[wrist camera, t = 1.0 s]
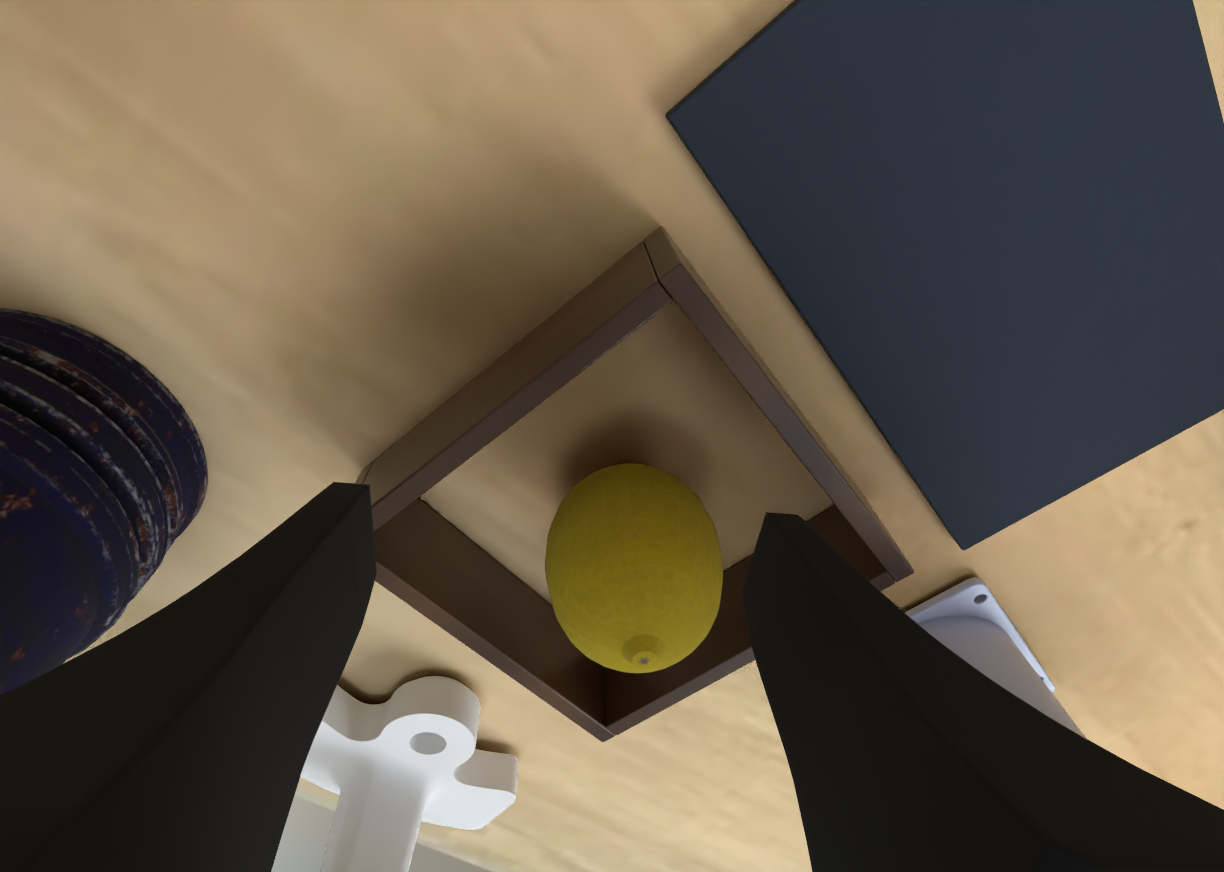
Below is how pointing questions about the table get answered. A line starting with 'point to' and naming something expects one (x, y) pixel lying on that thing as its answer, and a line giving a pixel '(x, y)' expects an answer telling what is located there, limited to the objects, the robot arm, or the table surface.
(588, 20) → the table surface
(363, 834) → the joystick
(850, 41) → the mat
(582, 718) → the wooden frame
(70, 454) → the dark navy cylinder
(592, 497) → the lemon
